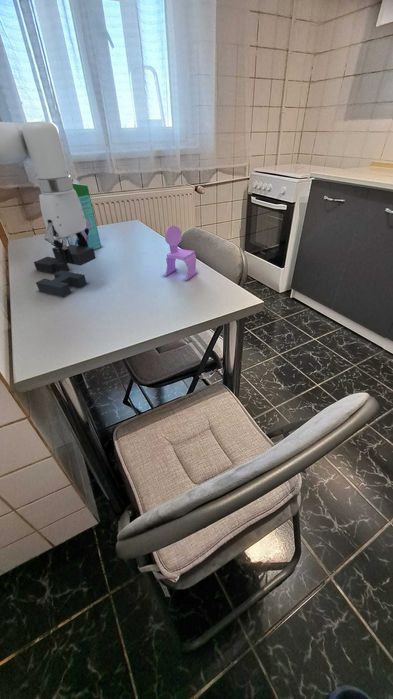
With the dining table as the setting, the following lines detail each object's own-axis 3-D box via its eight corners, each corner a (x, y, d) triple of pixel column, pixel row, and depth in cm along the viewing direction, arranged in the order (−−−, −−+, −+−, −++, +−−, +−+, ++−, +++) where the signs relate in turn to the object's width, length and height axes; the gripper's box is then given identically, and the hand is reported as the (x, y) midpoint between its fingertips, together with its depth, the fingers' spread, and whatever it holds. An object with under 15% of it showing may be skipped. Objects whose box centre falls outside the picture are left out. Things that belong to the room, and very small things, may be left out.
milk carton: (101, 247, 123) (86, 178, 107) (84, 253, 117) (65, 181, 102) (87, 243, 127) (70, 177, 112) (69, 249, 121) (49, 180, 106)
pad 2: (51, 260, 83) (47, 250, 81) (67, 253, 87) (64, 243, 85) (80, 265, 79) (77, 254, 77) (95, 258, 83) (93, 247, 81)
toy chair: (186, 282, 92) (183, 232, 83) (162, 277, 96) (157, 229, 86) (198, 272, 98) (197, 225, 89) (176, 268, 101) (173, 222, 92)
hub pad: (39, 291, 90) (35, 282, 88) (63, 278, 97) (60, 270, 95) (63, 297, 86) (60, 287, 85) (86, 283, 94) (84, 274, 92)
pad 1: (36, 270, 104) (33, 262, 102) (50, 264, 108) (47, 256, 106) (59, 274, 100) (56, 266, 98) (72, 268, 104) (69, 260, 102)
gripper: (70, 180, 79) (88, 247, 90) (15, 191, 67) (43, 268, 77) (92, 180, 76) (107, 250, 87) (38, 192, 64) (64, 271, 75)
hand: (77, 258), depth 82 cm, fingers closed on pad 2, 6 cm apart
